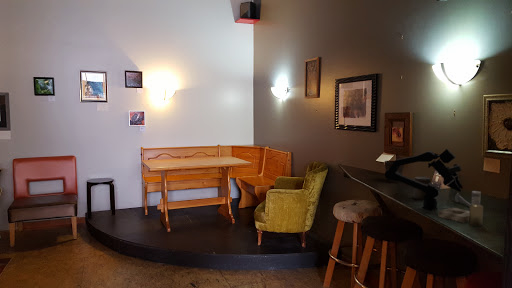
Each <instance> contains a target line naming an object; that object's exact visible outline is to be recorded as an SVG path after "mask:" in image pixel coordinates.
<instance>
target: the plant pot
mask: <svg viewBox="0 0 512 288" xmlns="http://www.w3.org/2000/svg"><path fill="white" fill-rule="evenodd" d="M394 161H395V160H385V161H384V168H385V172H386V171H387V170H389V169H390V167H391V166H392V164H393V163H394ZM404 167H405V165H400V166H399V168H398V170H397V172H399V173H400V174H401V175H403V171H404ZM387 180H388V182H389V183H395V184H396V183H399V181H393V180H389V179H387Z"/></svg>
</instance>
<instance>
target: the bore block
mask: <svg viewBox="0 0 512 288" xmlns="http://www.w3.org/2000/svg"><path fill="white" fill-rule="evenodd" d="M469 213H470V210H466V209H462V208H458V207H449V208H445V209H441V210H438V214H437V215H438V216H437V217H438V218H443V219H448V220H450V219H451V221H454V220H455V221H454V222H458V221H459V223H462V224H465V223H469Z"/></svg>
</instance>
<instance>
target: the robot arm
mask: <svg viewBox="0 0 512 288" xmlns="http://www.w3.org/2000/svg"><path fill="white" fill-rule="evenodd" d="M455 159H456V155H455V154H454V153H453V152H452V151H450V150H449V149H448V148H446V149H444V150H443V151H442V153H435V152H434V151H432V150H427V151H425V152H423V153H420V154H418V155H414V156H409V157H403V158H397V159H395V160H393V161H394V163H393V164H392V166H391V167H390V169H389V170H387V171H386V170H385V172H384V177H385V179H387V180H388V179H389V180H393V181H399V182H400V183H402V184H405V185H407V186H410V187H412V188H413V189H414V188H417V189H419V190H422V191H423V192H424V193H425V195H424V200H423V203H422V204H423V205H422V207H421V208H422V209H424V210H427V211H434V210H437V209H438V202H437V197H438V196H439V194H440V192H441V190H440V187H438V186H437V184H433V183H432V182H431V183H429V184H423V183H421V182H418V181H416V180H415V179H413V178H410V177H408V176H406V175H403V174H402V175H401V174H400V173H399V172H397V170H398V168H399V166H400V165H404V166H405V165H410V164H414V163H426V162H427V165H428V166H427V168H428V169H430V168H431V167H432V168H433V170H435V171H436V172H437V174H438V175H439V176H440V177H442V178H443V180H442V184H443V185H444V186H446V187H448V188H451V189H453V190H455V191H457V192H458V193H460V192H462V190H463V188H464V187H463V185H462V183H461V182H460V179H459V173H458V172H462V167H461V165H460V164H457V163H454V164H453V166H452V167H450V166H446V165H445V164H450V163H451V162H452V161H454V160H455ZM389 180H388V181H389ZM399 182H398V183H399ZM461 189H462V190H461Z"/></svg>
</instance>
